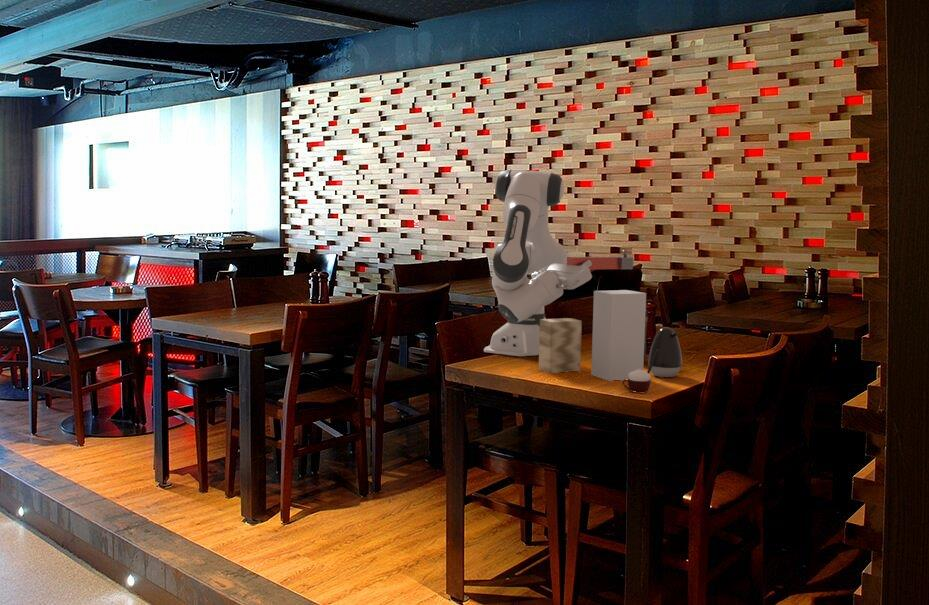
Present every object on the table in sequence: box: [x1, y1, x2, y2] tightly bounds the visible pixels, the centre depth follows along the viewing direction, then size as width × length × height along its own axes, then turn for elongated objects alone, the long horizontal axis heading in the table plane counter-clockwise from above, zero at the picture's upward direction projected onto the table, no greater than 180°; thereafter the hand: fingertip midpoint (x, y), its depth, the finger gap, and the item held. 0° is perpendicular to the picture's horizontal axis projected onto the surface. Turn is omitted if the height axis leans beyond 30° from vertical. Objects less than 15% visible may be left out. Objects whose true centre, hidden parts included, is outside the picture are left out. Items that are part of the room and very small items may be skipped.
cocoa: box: [622, 349, 658, 393], centre depth 241 cm, size 10×6×12 cm, turn 65°
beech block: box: [538, 317, 583, 374], centre depth 271 cm, size 11×7×16 cm, turn 113°
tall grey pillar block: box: [590, 289, 647, 382], centre depth 261 cm, size 12×10×26 cm
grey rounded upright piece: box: [647, 326, 683, 378], centre depth 264 cm, size 10×10×15 cm
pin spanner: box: [566, 249, 634, 271], centre depth 255 cm, size 20×6×6 cm, turn 114°
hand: (585, 261), depth 253 cm, fingers closed on pin spanner, 3 cm apart
